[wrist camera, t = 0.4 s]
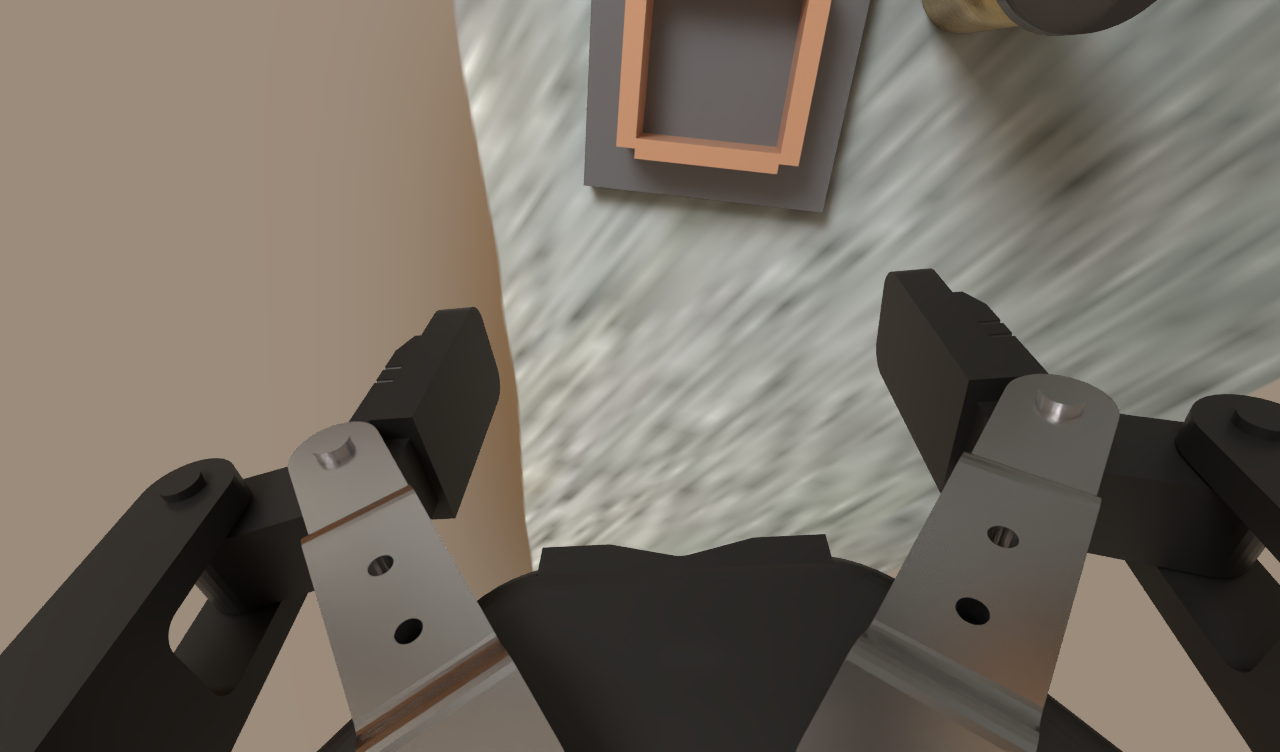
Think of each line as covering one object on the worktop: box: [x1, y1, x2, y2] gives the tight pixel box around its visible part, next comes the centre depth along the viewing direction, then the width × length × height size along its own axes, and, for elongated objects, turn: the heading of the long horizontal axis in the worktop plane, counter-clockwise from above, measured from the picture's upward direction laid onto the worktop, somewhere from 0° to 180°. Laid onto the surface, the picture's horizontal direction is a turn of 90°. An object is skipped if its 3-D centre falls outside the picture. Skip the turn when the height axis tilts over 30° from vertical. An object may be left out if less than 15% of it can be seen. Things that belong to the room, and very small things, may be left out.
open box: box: [584, 0, 870, 213], centre depth 31 cm, size 14×14×4 cm
